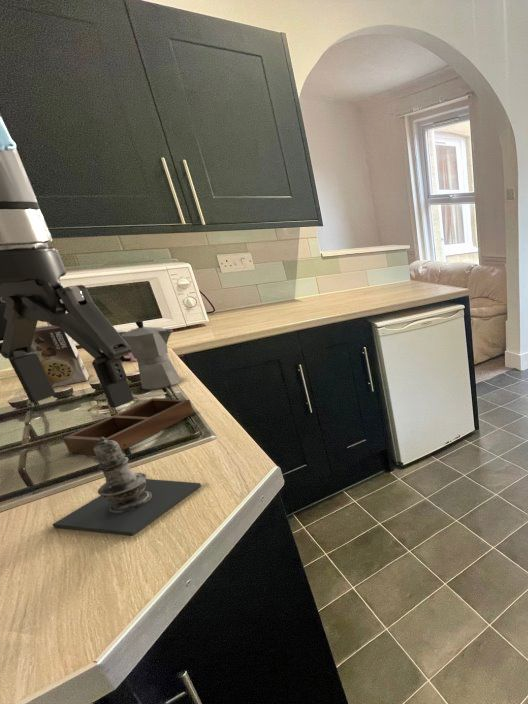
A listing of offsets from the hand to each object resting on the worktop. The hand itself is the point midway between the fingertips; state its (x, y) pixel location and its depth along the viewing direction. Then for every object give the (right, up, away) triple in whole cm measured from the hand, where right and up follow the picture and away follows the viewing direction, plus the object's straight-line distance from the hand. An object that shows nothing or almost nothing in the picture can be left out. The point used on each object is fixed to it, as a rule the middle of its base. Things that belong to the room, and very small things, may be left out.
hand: (82, 401), depth 60 cm
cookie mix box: (-66, +3, +60) cm, 90 cm away
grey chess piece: (+1, -17, +7) cm, 18 cm away
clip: (-70, +12, +83) cm, 109 cm away
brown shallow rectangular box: (-19, -8, +31) cm, 37 cm away
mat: (+1, -17, +7) cm, 18 cm away
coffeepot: (-37, +2, +57) cm, 68 cm away
